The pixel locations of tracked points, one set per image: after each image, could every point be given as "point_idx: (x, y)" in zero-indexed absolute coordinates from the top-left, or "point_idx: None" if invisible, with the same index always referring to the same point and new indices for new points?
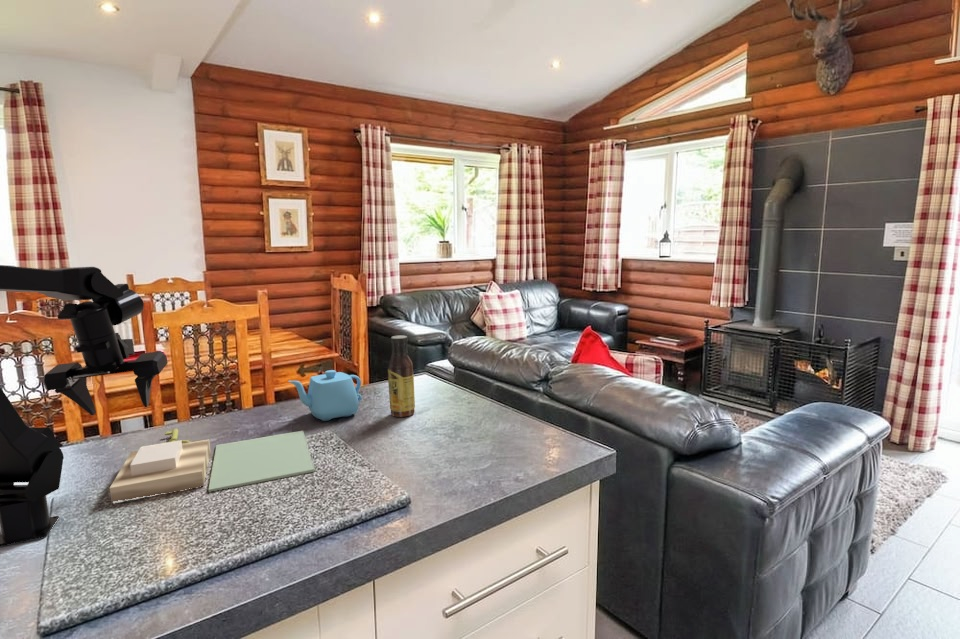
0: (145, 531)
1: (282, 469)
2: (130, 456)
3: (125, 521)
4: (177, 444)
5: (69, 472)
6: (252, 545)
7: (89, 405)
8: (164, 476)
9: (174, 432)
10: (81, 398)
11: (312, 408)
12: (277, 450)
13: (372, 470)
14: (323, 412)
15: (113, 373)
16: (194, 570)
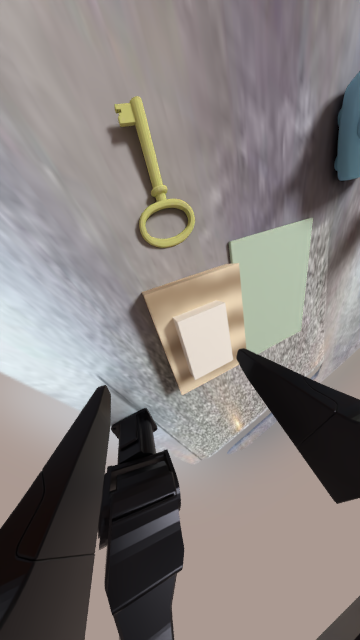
0: (217, 407)
1: (285, 329)
2: (154, 315)
3: (200, 400)
4: (224, 319)
5: (34, 299)
6: (266, 406)
7: (104, 437)
8: (221, 371)
9: (146, 135)
10: (96, 516)
11: (356, 145)
12: (285, 284)
13: (322, 330)
14: (355, 177)
15: (321, 638)
16: (247, 425)
